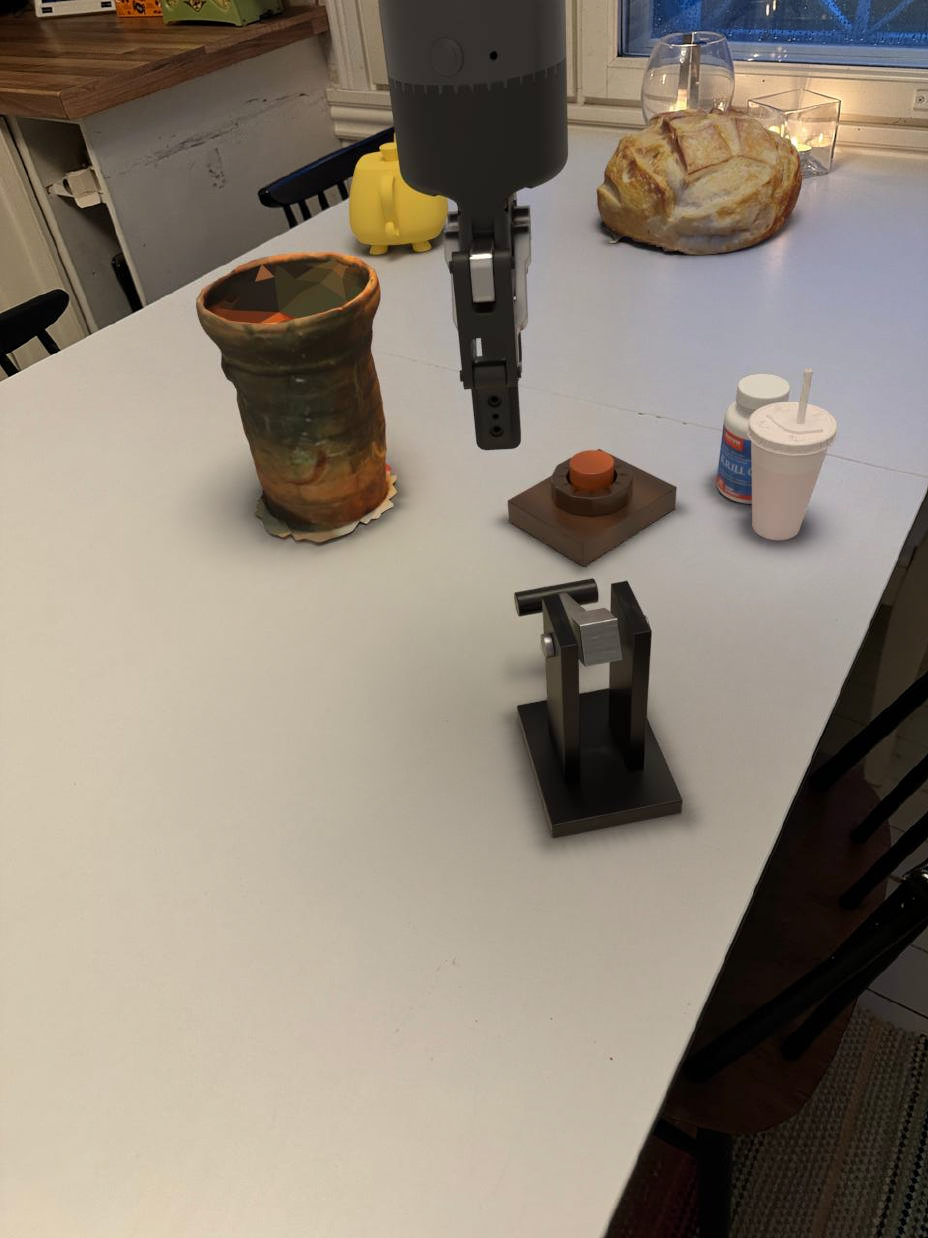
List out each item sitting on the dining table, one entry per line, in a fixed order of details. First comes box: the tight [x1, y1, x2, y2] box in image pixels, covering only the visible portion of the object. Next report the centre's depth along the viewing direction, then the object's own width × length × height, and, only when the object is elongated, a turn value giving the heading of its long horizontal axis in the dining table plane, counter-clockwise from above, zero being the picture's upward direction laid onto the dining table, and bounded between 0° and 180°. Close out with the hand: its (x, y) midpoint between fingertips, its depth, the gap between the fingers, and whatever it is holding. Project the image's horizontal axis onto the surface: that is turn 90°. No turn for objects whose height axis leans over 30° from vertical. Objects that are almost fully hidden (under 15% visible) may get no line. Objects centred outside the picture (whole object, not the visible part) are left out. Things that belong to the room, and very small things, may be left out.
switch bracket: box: [516, 580, 684, 838], centre depth 55 cm, size 10×8×13 cm
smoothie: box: [747, 368, 838, 541], centre depth 71 cm, size 6×6×14 cm
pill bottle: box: [716, 373, 791, 505], centre depth 77 cm, size 6×5×10 cm
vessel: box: [195, 252, 398, 543], centre depth 78 cm, size 14×14×20 cm
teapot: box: [348, 132, 449, 256], centre depth 129 cm, size 14×20×13 cm
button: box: [570, 449, 614, 491], centre depth 76 cm, size 4×4×2 cm
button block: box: [507, 448, 678, 567], centre depth 78 cm, size 11×9×4 cm
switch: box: [513, 577, 623, 668], centre depth 57 cm, size 13×6×2 cm, turn 10°
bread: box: [596, 105, 803, 256], centre depth 122 cm, size 25×27×15 cm
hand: (501, 403), depth 49 cm, fingers open, 8 cm apart
